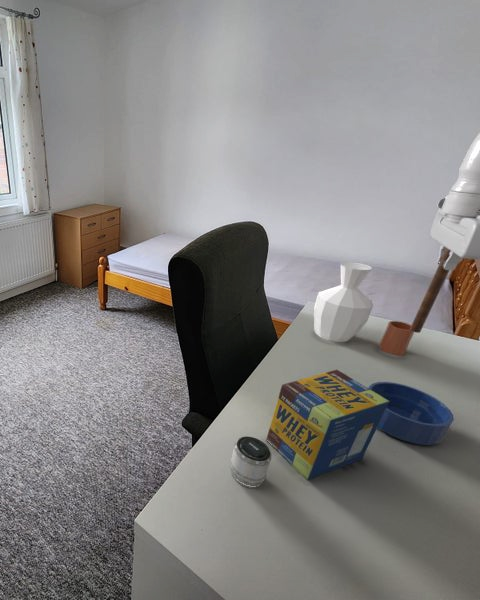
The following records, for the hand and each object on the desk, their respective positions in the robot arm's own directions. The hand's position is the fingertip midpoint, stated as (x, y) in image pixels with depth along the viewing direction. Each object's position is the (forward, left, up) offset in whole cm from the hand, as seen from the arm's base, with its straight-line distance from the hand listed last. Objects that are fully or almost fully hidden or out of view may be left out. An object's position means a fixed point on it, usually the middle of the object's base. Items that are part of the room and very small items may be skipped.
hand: (444, 267), depth 78 cm
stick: (0, 0, -17) cm, 17 cm away
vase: (+12, -19, -33) cm, 40 cm away
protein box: (+21, +37, -33) cm, 53 cm away
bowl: (+3, +19, -32) cm, 38 cm away
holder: (-3, -17, -32) cm, 37 cm away
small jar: (+33, +50, -33) cm, 68 cm away
